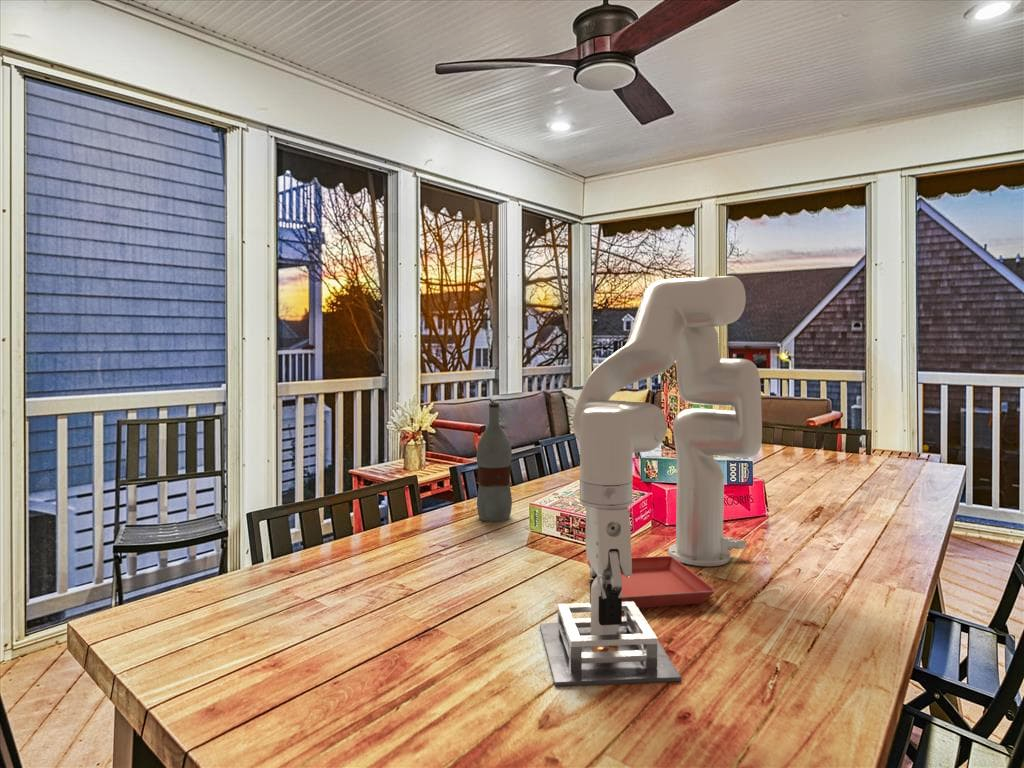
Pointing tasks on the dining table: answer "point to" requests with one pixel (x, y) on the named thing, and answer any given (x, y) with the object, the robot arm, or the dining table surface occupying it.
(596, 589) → the eye dropper bottle
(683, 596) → the plant saucer
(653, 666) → the collar stand
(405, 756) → the dining table surface
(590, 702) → the dining table surface
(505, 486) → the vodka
